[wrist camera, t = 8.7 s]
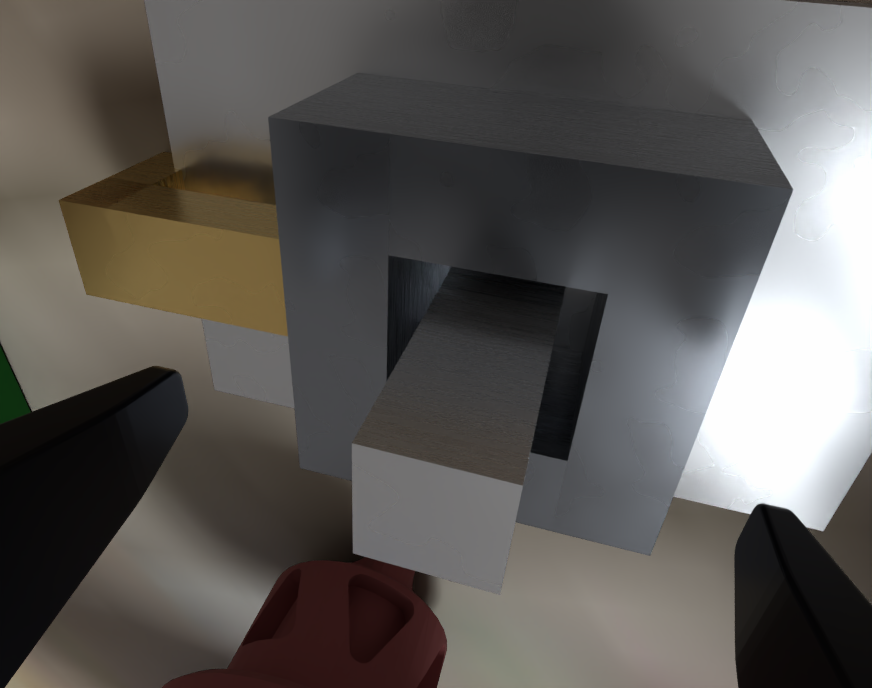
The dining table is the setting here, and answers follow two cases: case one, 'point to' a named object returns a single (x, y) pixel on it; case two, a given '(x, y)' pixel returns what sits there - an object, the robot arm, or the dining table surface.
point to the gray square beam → (456, 431)
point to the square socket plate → (527, 228)
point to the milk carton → (10, 393)
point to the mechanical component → (336, 633)
